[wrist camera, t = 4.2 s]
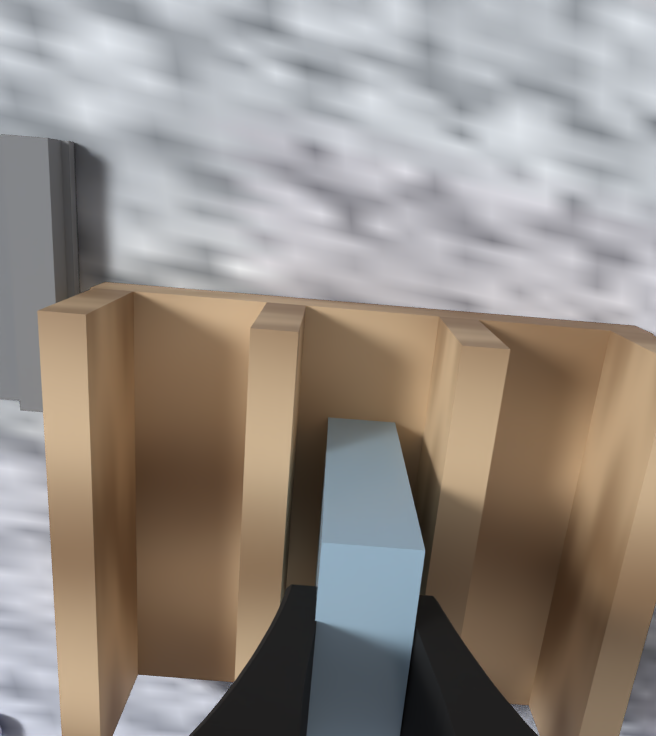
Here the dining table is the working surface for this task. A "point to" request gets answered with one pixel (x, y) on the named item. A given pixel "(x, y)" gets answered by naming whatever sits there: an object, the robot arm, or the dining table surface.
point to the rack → (305, 484)
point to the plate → (364, 583)
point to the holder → (33, 254)
